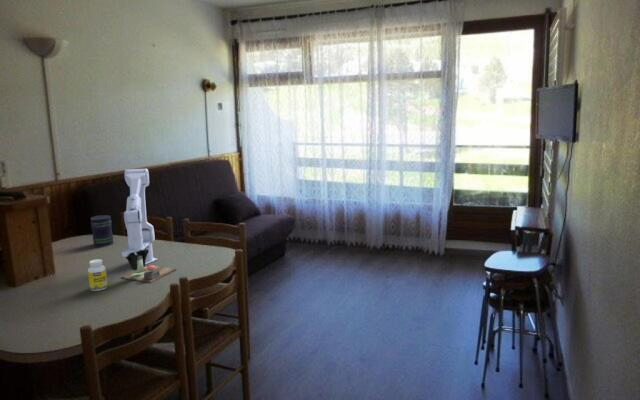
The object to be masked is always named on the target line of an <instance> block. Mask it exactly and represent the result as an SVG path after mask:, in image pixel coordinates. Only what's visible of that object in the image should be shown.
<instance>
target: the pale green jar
mask: <svg viewBox="0 0 640 400" xmlns="http://www.w3.org/2000/svg"><path fill="white" fill-rule="evenodd" d="M133 271H134V273H142V272H144V268H143V258H142V255H138V258H137V270H133Z"/></svg>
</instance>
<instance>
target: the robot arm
mask: <svg viewBox="0 0 640 400" xmlns="http://www.w3.org/2000/svg"><path fill="white" fill-rule="evenodd" d="M124 180H125V182H126V184H127V186H128V187H129V196H127V199H126V209H125V211H124V212H123V213H124V214H123V219H124V224H125V228H126V231H127V232H126V233H127V234H126V235H127V241H128V248H126V249H125V250H124V251H122V252H121V257H123V258H125V259H126V261H128V263H129V266H130V267H131V270H132V271H134V270H137V258H138V255H142V258H143V267H144V266H146V265H149V264H150V263H152V262H155V261H157V260H158V258H156V257H154V251H153V242H154V241H155V239H156V238H155V229H154V225H152V224H151V223H149V222H148V218H147V206H146V204H147V203H146V187H149V185H150V173H149V169H148V168H133V169H127V168H126V169H125V170H124Z"/></svg>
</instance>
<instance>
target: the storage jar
mask: <svg viewBox="0 0 640 400" xmlns="http://www.w3.org/2000/svg"><path fill="white" fill-rule="evenodd" d="M90 225H91V230H92V241H93V246H94V247H96V248H103V247H105V248H106V247H109V246H111V245H114V235H113V231H112V219H111V215H110V214H103V215H102V214H101V215H94V216H91V217H90Z"/></svg>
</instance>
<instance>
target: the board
mask: <svg viewBox="0 0 640 400" xmlns="http://www.w3.org/2000/svg"><path fill="white" fill-rule="evenodd" d="M147 266H150V264H146V265H145V266H144V267H143V268H144V272H142V273H134V270H132V271H131V272H129V273H127V274H124V275H122V276H121V277H120V278H121V279H125V280H130V281H131V280H132V281H136V282H137V281H138V282H144V283H154V282H155V281H158V280H160V279H162V278H164V277H165V276H167V275H169V274H171V273H174V272H176V271H177V268H175V267H174V268H172V267H166V266H158V265H154V266H155V269H154V270H152V271H149V270H148V269H147Z"/></svg>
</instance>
